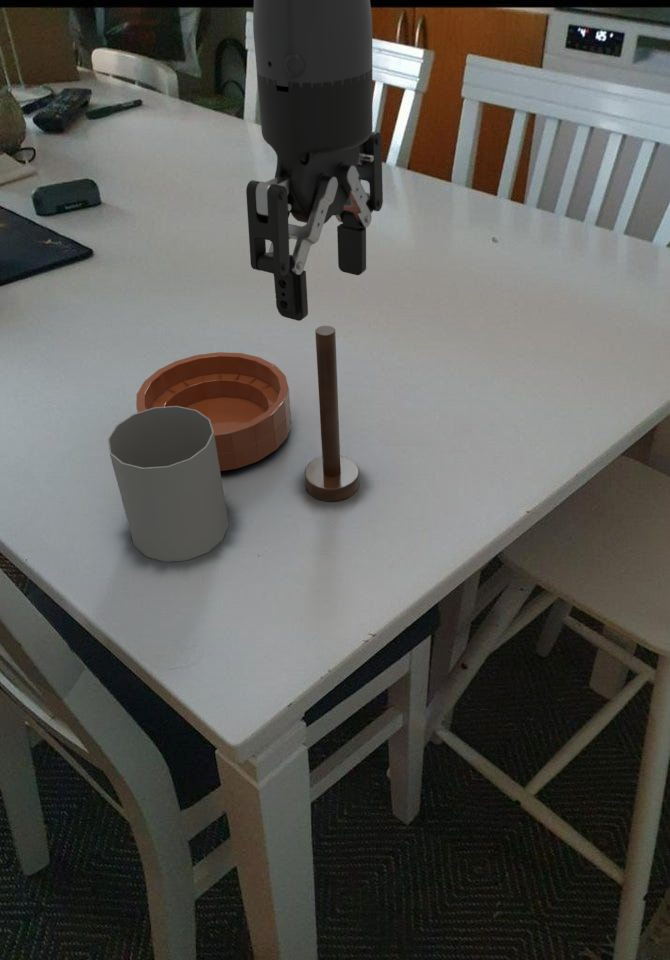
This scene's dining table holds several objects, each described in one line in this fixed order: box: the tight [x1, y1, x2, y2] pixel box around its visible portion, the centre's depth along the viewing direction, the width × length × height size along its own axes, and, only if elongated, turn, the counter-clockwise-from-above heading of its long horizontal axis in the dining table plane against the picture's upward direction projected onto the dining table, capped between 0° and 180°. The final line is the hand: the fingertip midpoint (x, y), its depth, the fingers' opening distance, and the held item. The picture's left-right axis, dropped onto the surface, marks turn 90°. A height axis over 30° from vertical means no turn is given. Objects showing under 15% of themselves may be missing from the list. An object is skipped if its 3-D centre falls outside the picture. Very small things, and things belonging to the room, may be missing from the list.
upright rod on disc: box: [304, 325, 361, 502], centre depth 70 cm, size 5×5×16 cm
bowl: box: [135, 351, 292, 472], centre depth 80 cm, size 15×15×5 cm
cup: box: [107, 406, 230, 563], centre depth 68 cm, size 8×8×10 cm
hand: (324, 293), depth 62 cm, fingers open, 8 cm apart
